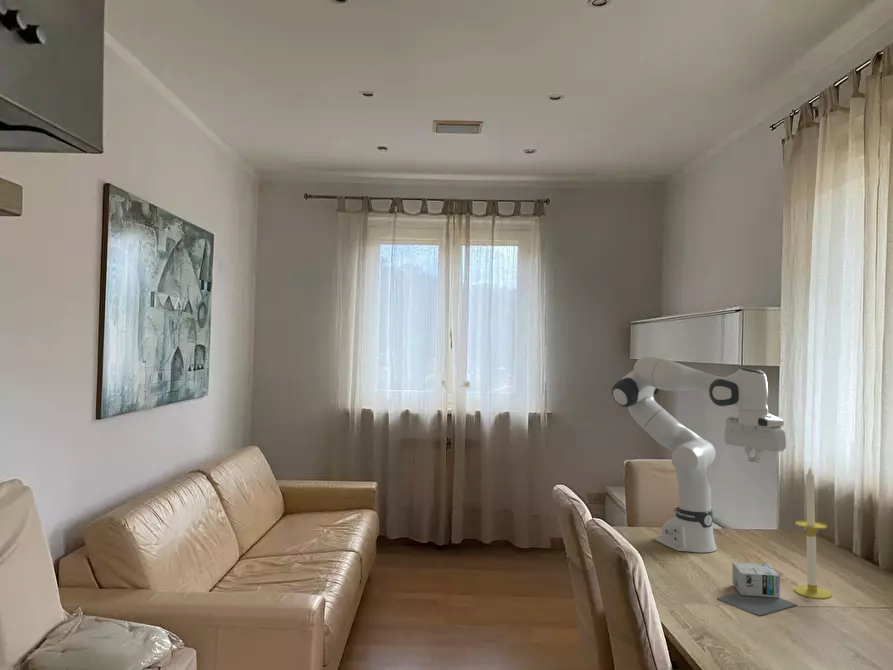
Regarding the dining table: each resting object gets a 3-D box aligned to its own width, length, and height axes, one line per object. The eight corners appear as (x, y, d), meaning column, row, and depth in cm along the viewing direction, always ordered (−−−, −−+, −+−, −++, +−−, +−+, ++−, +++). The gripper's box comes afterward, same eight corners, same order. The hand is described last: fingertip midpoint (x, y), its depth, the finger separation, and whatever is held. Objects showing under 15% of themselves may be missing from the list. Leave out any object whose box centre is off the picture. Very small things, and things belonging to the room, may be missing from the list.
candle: (836, 600, 187) (833, 470, 188) (797, 597, 190) (795, 468, 191) (826, 588, 196) (824, 464, 197) (790, 585, 199) (787, 463, 200)
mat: (717, 599, 189) (717, 597, 189) (753, 589, 196) (753, 588, 196) (759, 616, 176) (759, 615, 176) (797, 605, 184) (797, 604, 184)
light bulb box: (740, 595, 190) (780, 599, 188) (740, 572, 190) (780, 575, 188) (732, 583, 200) (769, 586, 198) (732, 561, 201) (769, 564, 198)
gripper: (719, 416, 215) (720, 458, 214) (775, 422, 196) (775, 468, 196) (732, 415, 218) (733, 456, 217) (788, 421, 199) (789, 466, 199)
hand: (754, 462), depth 207 cm, fingers closed
